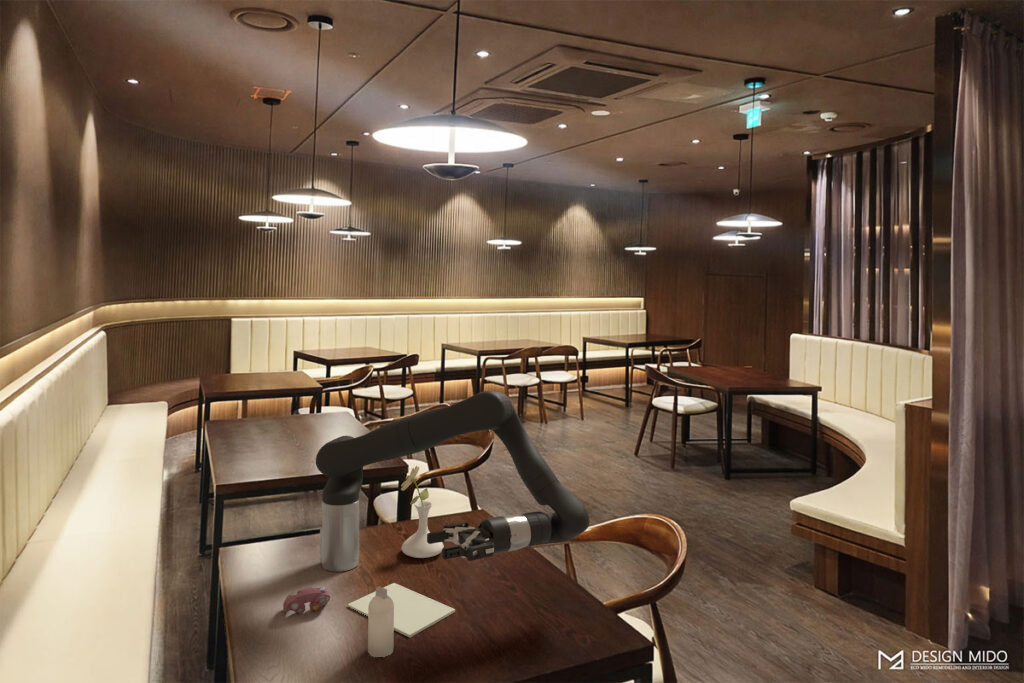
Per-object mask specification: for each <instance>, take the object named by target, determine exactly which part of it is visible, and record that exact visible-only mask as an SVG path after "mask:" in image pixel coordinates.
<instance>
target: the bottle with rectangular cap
mask: <svg viewBox="0 0 1024 683" xmlns="http://www.w3.org/2000/svg"><path fill="white" fill-rule="evenodd" d="M375 591H376V596H375V597H373V598H372V600H371V601H370V603H369V606H368V617H367V621H368V622H367V623H368V625H367V629H368V630H367V653H369V654H370V655H371V656H370V655H369V654H368V655H369V656H370V657H372V656H373V657H372V658H375V657H383V658H387V657H389V656H390V655H392V654H393V653H394V645H395V644H394V641H395V639H394V633H395V632H394V631H395V630H394V603H393V601H392V599H391V598H390V597H389V596H388V595H387V589H385V588H384V587H383V586H380V585H378V586H377V587H375ZM388 655H389V656H388ZM386 656H387V657H386Z"/></svg>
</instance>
